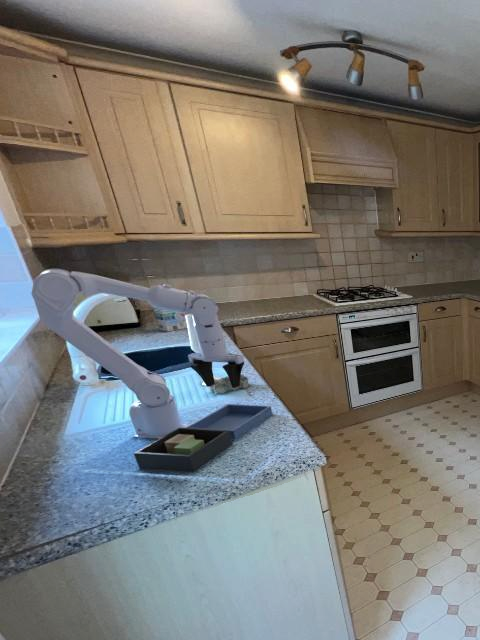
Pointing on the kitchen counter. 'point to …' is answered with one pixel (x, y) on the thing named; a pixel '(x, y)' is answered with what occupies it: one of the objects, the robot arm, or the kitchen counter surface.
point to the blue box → (234, 419)
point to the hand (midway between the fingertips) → (223, 386)
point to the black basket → (161, 460)
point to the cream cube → (176, 442)
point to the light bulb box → (170, 320)
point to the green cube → (188, 446)
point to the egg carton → (228, 384)
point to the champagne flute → (194, 338)
